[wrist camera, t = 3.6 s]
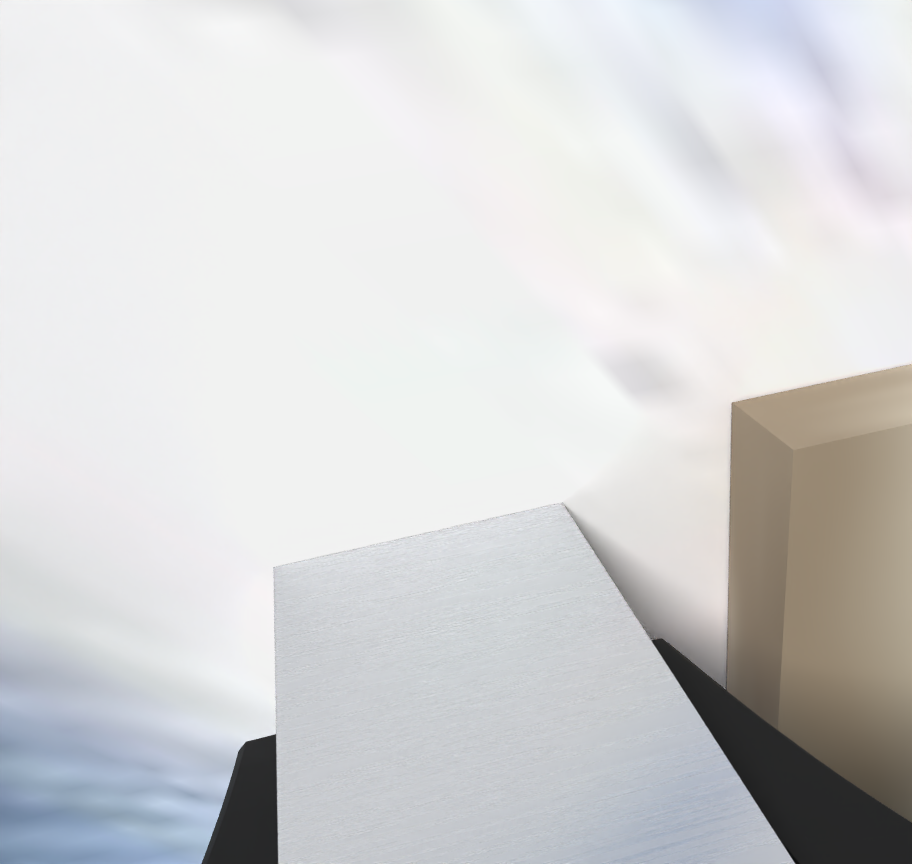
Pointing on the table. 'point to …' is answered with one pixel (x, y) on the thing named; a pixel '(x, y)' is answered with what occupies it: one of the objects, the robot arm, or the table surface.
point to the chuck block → (827, 574)
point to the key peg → (490, 712)
